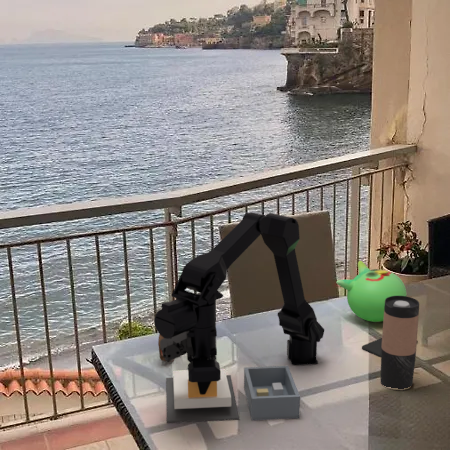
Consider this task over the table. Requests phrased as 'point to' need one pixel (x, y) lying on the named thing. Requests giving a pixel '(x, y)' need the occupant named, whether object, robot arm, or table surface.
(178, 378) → the lid
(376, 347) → the phone
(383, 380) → the travel mug
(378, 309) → the toy bird
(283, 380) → the parts tub
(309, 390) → the table surface
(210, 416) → the mat
